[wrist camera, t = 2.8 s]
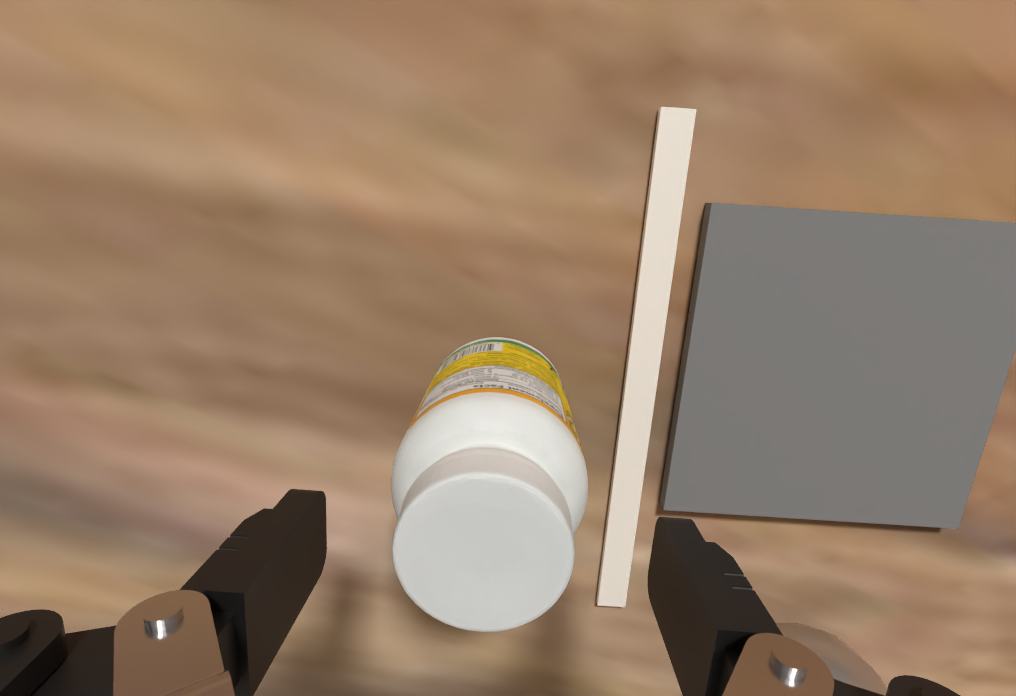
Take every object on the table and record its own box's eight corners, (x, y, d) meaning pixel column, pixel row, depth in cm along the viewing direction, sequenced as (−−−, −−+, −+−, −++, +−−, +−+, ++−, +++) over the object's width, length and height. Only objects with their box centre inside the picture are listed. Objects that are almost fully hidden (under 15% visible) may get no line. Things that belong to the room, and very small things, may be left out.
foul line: (658, 108, 18) (660, 106, 17) (693, 111, 18) (696, 108, 17) (596, 600, 23) (597, 605, 22) (623, 602, 23) (625, 607, 22)
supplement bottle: (465, 311, 19) (420, 398, 10) (589, 371, 20) (655, 505, 11) (408, 429, 21) (322, 603, 11) (527, 482, 21) (538, 690, 12)
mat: (705, 203, 18) (711, 202, 18) (1037, 225, 18) (1055, 225, 18) (659, 502, 21) (663, 510, 21) (946, 520, 21) (958, 528, 21)
